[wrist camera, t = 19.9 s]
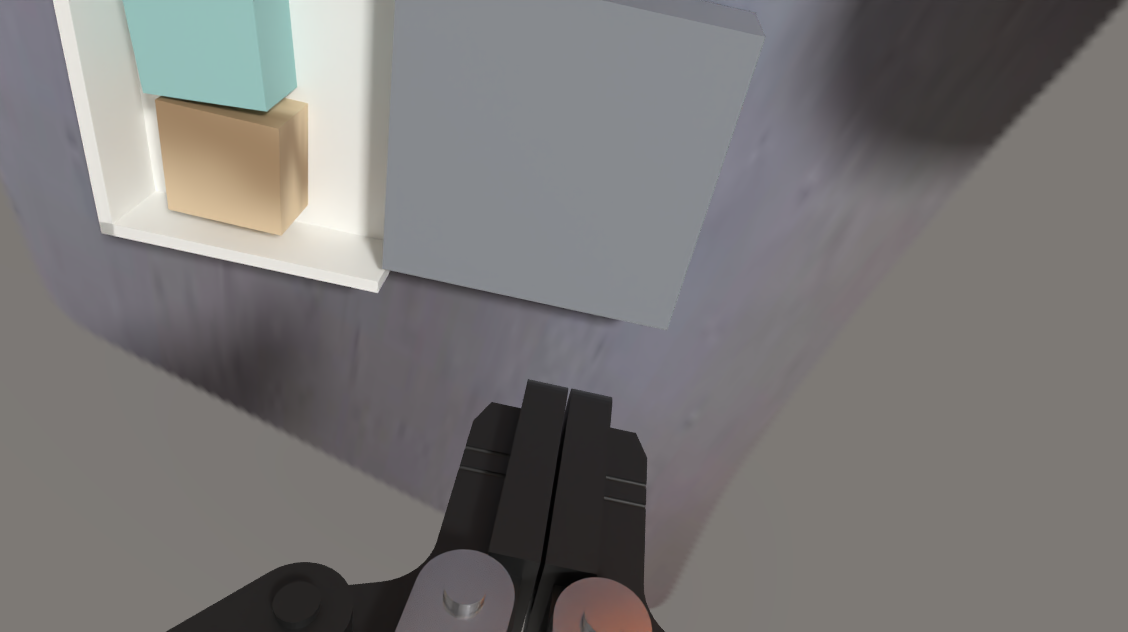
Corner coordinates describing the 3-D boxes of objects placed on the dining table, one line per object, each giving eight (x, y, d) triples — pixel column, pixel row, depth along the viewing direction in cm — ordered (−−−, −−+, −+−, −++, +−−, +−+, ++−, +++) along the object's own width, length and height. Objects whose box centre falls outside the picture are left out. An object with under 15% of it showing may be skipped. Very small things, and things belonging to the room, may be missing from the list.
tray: (95, -166, 28) (19, -161, 24) (425, -91, 28) (394, -76, 25) (151, 193, 36) (101, 233, 33) (403, 248, 37) (377, 292, 33)
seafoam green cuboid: (249, -25, 26) (284, -40, 29) (112, -45, 27) (159, -59, 29) (266, 111, 29) (297, 87, 32) (142, 92, 29) (182, 70, 32)
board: (424, -62, 28) (397, -46, 26) (755, 12, 29) (765, 37, 26) (404, 230, 36) (382, 268, 33) (666, 288, 36) (666, 330, 33)
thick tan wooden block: (278, 128, 30) (307, 103, 32) (154, 99, 30) (193, 76, 32) (281, 235, 33) (308, 205, 35) (168, 209, 32) (202, 180, 35)
